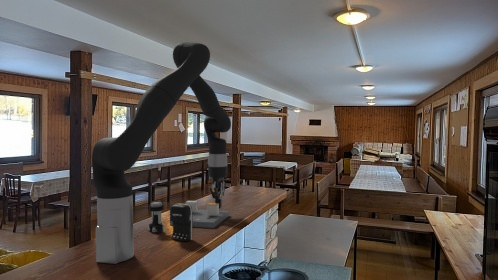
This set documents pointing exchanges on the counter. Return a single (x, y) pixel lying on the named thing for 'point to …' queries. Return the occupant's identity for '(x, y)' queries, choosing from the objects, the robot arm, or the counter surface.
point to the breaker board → (205, 216)
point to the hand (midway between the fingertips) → (218, 208)
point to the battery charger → (181, 222)
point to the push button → (156, 217)
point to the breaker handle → (213, 209)
